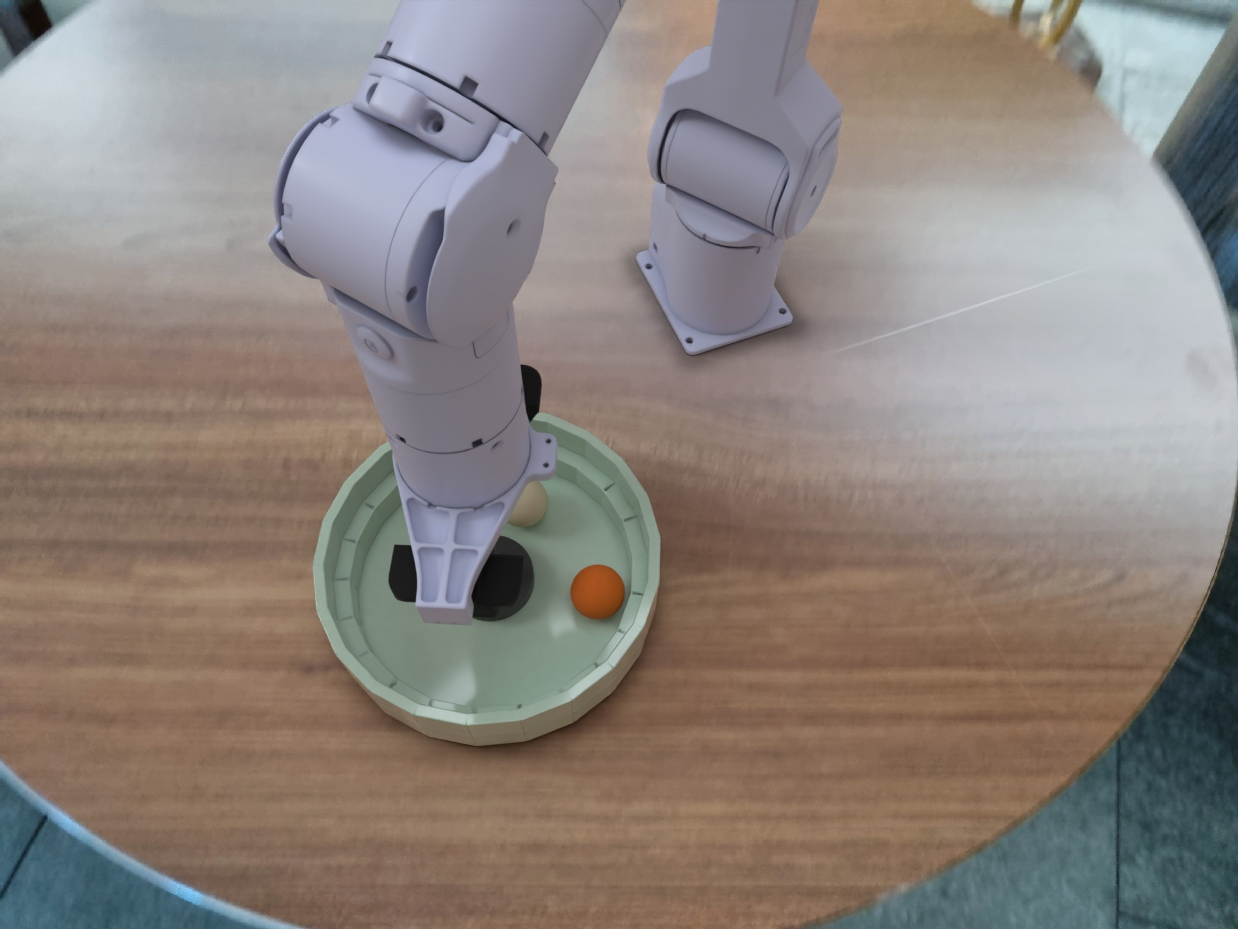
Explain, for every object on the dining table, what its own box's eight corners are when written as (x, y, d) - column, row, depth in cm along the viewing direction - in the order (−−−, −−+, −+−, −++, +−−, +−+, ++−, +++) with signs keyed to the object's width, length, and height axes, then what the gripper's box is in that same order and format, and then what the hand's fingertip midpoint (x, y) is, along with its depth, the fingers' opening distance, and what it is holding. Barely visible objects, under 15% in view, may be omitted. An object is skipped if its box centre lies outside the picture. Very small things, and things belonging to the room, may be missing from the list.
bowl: (304, 507, 56) (279, 466, 51) (589, 415, 59) (588, 369, 55) (381, 803, 47) (360, 783, 43) (707, 673, 51) (718, 643, 47)
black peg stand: (545, 555, 53) (538, 493, 47) (519, 631, 51) (507, 577, 45) (467, 534, 54) (449, 470, 47) (437, 609, 52) (414, 552, 45)
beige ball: (501, 504, 56) (486, 473, 53) (548, 490, 56) (536, 458, 53) (508, 543, 54) (493, 513, 51) (557, 528, 54) (545, 497, 51)
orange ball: (561, 573, 52) (594, 607, 53) (557, 604, 49) (592, 639, 50) (602, 544, 51) (635, 580, 52) (600, 574, 48) (636, 611, 50)
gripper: (535, 567, 32) (552, 681, 44) (565, 255, 40) (572, 425, 51) (334, 557, 32) (404, 674, 44) (401, 247, 40) (446, 419, 51)
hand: (485, 540), depth 48 cm, fingers open, 7 cm apart
